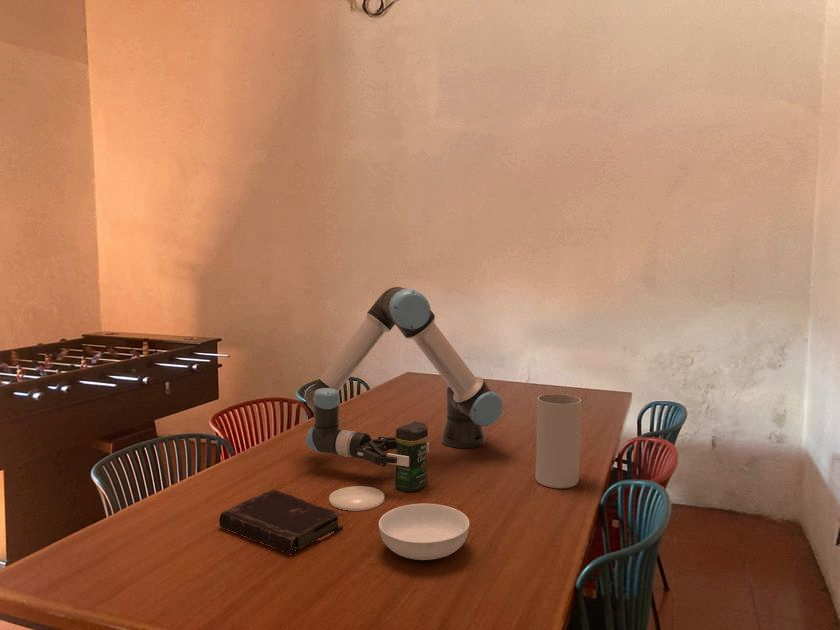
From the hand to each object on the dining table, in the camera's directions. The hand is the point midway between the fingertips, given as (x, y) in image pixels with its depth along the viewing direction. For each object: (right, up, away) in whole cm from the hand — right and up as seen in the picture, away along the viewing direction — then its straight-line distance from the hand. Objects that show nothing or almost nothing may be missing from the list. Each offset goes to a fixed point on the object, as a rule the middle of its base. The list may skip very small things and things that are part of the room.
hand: (418, 454), depth 190 cm
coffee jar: (-2, -10, +2) cm, 10 cm away
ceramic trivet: (-17, -11, -8) cm, 22 cm away
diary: (-34, -14, -26) cm, 45 cm away
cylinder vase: (+41, -10, +7) cm, 43 cm away
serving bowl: (+1, -15, -36) cm, 39 cm away
